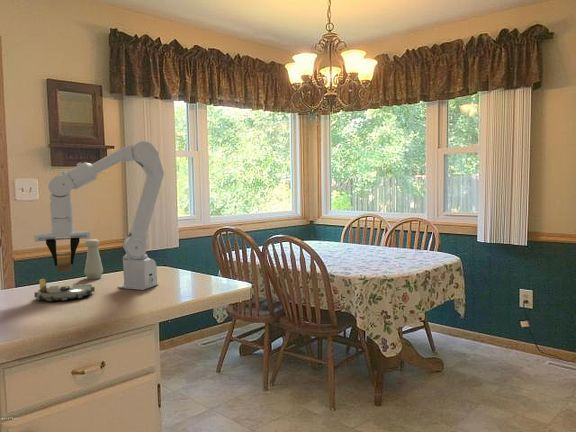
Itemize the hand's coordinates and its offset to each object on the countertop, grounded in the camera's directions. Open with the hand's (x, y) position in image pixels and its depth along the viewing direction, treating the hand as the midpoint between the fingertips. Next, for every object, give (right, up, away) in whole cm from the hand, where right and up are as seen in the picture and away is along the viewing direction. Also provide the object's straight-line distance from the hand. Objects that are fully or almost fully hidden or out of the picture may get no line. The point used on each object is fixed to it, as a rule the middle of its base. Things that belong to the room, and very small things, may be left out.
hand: (64, 264), depth 142 cm
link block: (0, -2, 0) cm, 2 cm away
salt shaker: (0, -7, +22) cm, 23 cm away
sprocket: (+2, -9, -4) cm, 10 cm away
